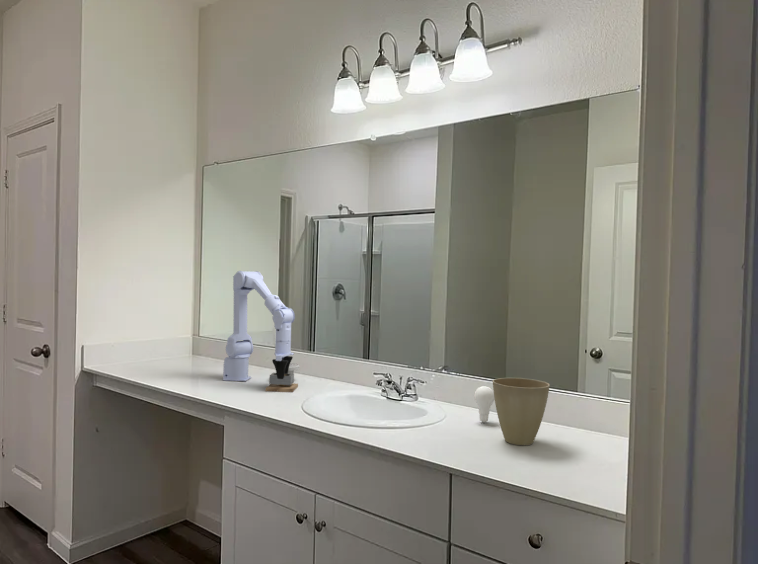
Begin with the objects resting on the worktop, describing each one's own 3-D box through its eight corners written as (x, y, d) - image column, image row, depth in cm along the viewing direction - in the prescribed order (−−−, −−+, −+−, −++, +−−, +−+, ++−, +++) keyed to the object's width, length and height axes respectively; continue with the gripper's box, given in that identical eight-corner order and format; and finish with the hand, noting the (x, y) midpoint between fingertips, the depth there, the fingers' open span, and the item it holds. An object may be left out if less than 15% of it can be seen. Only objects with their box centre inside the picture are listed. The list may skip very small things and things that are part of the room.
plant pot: (559, 448, 145) (561, 386, 145) (508, 451, 141) (510, 388, 141) (528, 432, 160) (530, 376, 159) (481, 435, 155) (482, 377, 155)
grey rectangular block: (269, 383, 207) (269, 375, 207) (272, 381, 212) (273, 372, 212) (290, 384, 206) (290, 376, 206) (293, 382, 212) (294, 373, 212)
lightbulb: (482, 426, 165) (483, 388, 164) (469, 421, 170) (470, 385, 170) (498, 424, 167) (499, 387, 167) (485, 419, 173) (486, 383, 173)
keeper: (265, 391, 205) (265, 377, 205) (272, 385, 215) (272, 372, 214) (292, 392, 204) (292, 378, 204) (297, 386, 214) (298, 373, 214)
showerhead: (272, 364, 220) (279, 360, 230) (272, 383, 220) (279, 378, 230) (296, 365, 219) (302, 361, 229) (295, 384, 219) (301, 379, 229)
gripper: (289, 343, 202) (288, 381, 202) (297, 339, 216) (296, 374, 216) (270, 343, 202) (269, 380, 202) (279, 338, 216) (278, 373, 217)
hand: (282, 377), depth 209 cm, fingers open, 6 cm apart
